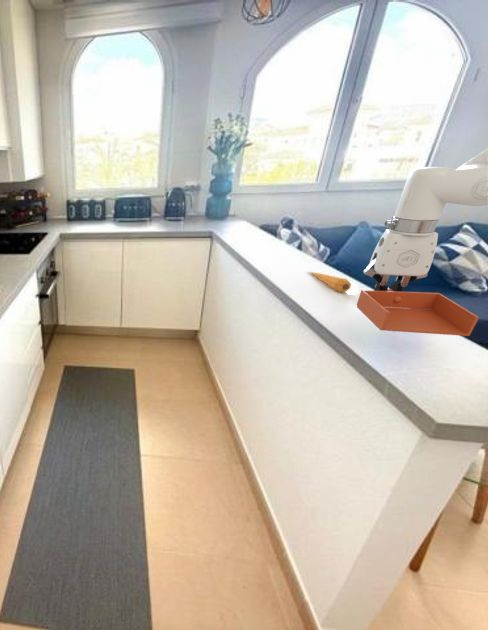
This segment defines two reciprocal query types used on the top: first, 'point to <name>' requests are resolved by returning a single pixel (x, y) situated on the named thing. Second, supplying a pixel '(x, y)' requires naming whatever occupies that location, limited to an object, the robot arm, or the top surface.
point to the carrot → (334, 282)
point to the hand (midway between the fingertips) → (384, 298)
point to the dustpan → (416, 312)
